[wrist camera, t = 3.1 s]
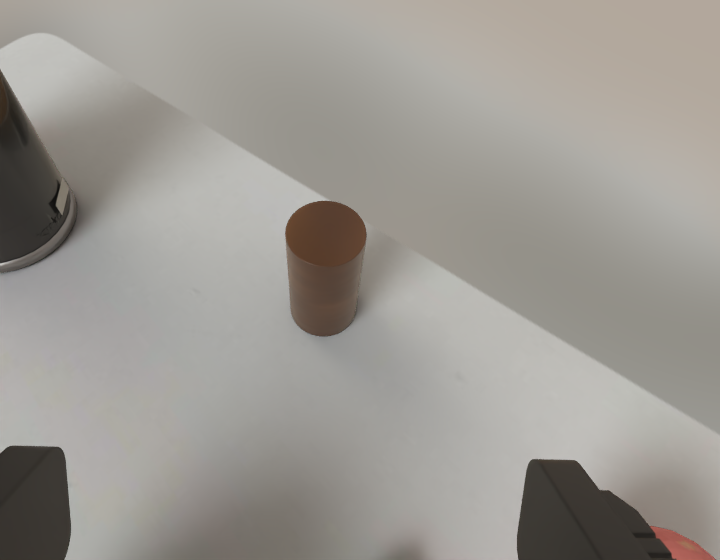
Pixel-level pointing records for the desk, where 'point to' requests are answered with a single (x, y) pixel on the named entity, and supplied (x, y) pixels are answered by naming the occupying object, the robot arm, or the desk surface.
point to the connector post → (324, 266)
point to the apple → (681, 545)
